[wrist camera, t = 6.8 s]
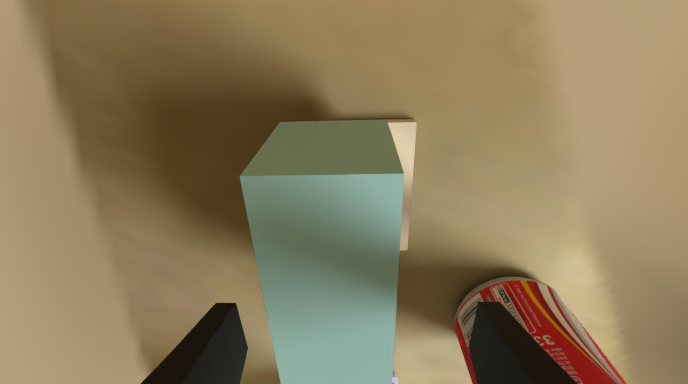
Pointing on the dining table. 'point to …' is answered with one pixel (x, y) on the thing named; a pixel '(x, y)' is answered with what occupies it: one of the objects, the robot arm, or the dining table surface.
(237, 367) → the robot arm
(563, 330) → the soda can
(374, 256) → the block
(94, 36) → the dining table surface
